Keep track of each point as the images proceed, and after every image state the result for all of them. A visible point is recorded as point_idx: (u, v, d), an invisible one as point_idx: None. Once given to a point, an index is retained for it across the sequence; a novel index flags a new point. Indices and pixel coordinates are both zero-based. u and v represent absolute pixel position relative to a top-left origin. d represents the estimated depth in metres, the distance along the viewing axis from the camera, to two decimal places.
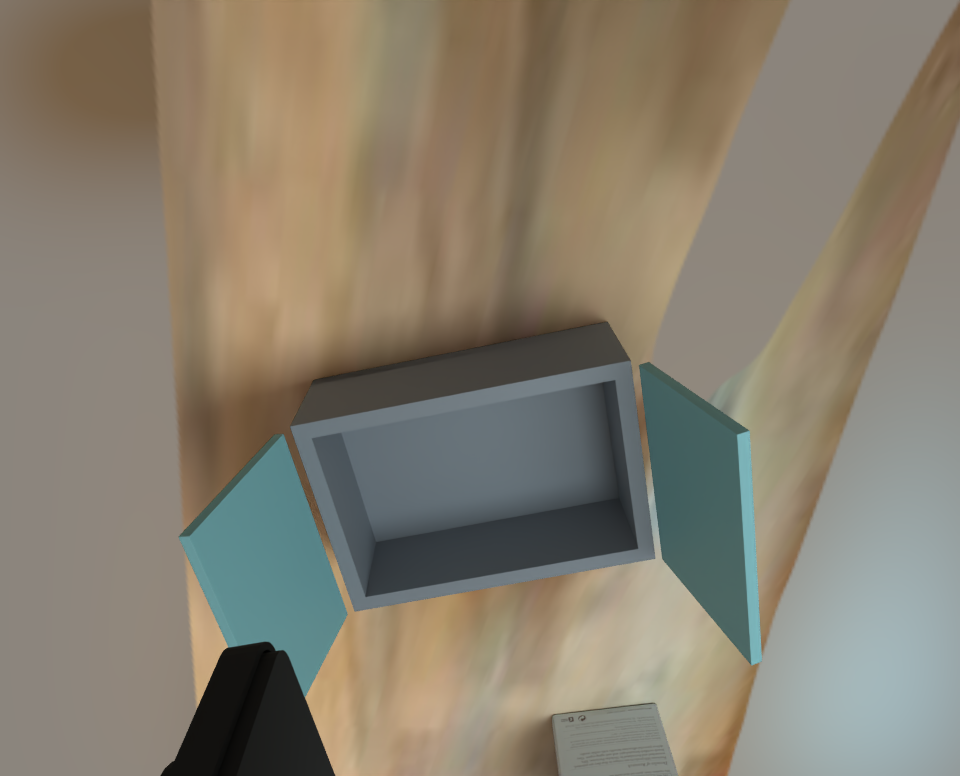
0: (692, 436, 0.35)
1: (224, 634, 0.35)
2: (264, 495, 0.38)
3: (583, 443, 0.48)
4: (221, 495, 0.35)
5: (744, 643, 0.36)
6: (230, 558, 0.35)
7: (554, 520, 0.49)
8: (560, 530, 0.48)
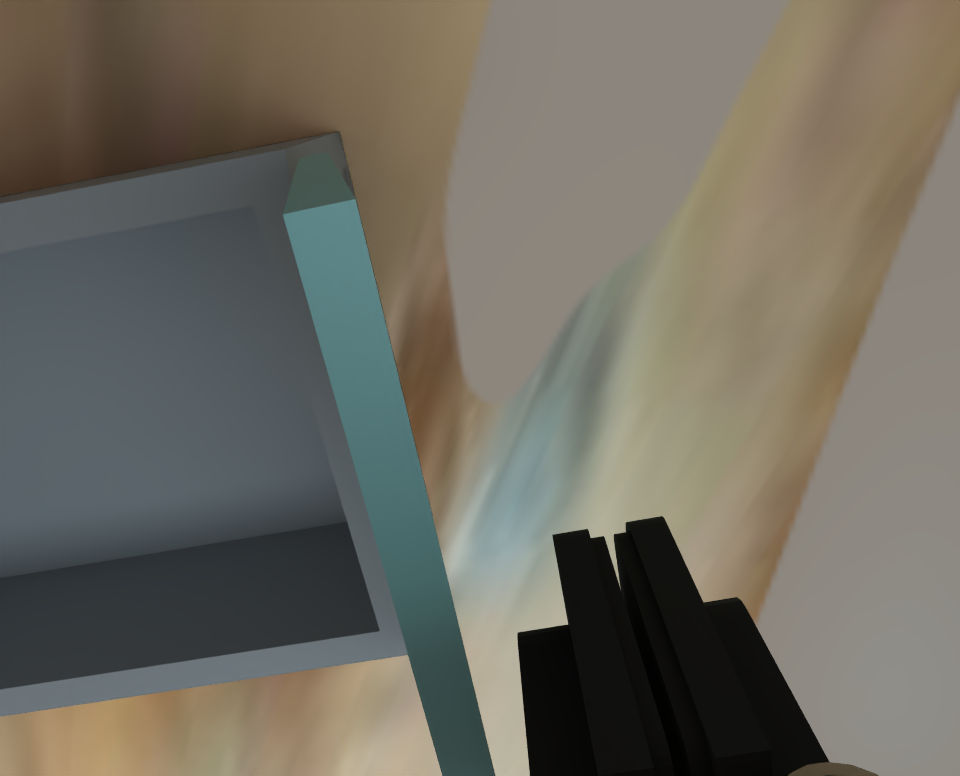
0: None
1: None
2: None
3: None
4: None
5: None
6: None
7: (258, 556, 0.24)
8: (255, 578, 0.23)
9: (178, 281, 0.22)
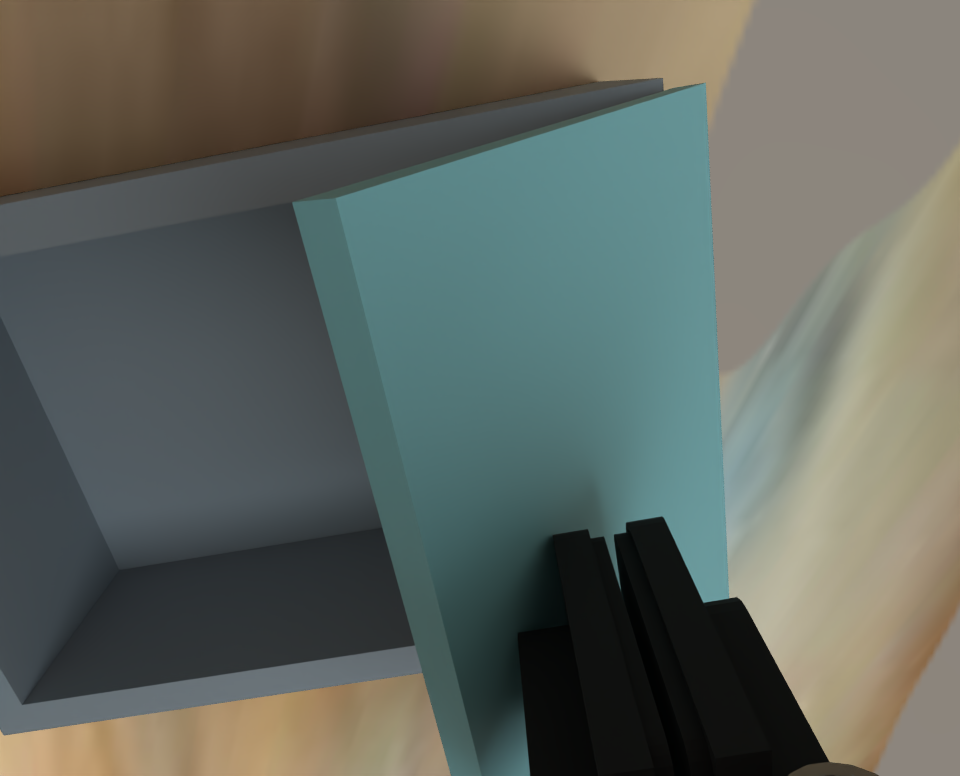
0: None
1: None
2: None
3: None
4: None
5: None
6: None
7: None
8: None
9: None
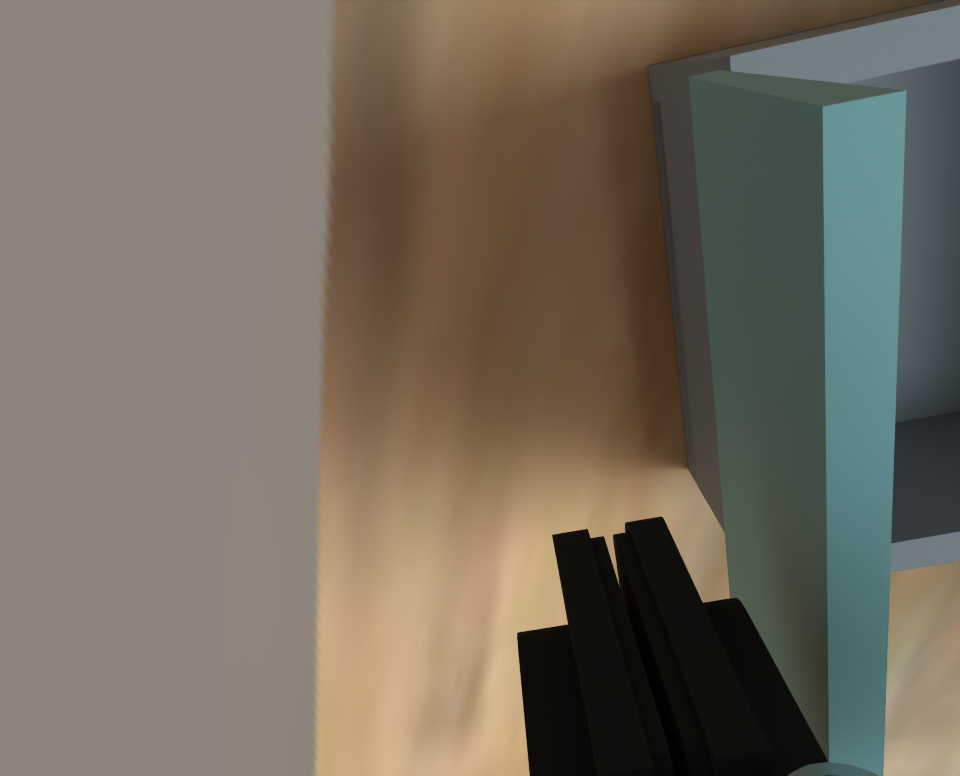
0: None
1: (837, 665, 0.08)
2: None
3: None
4: (766, 84, 0.09)
5: None
6: None
7: None
8: None
9: None
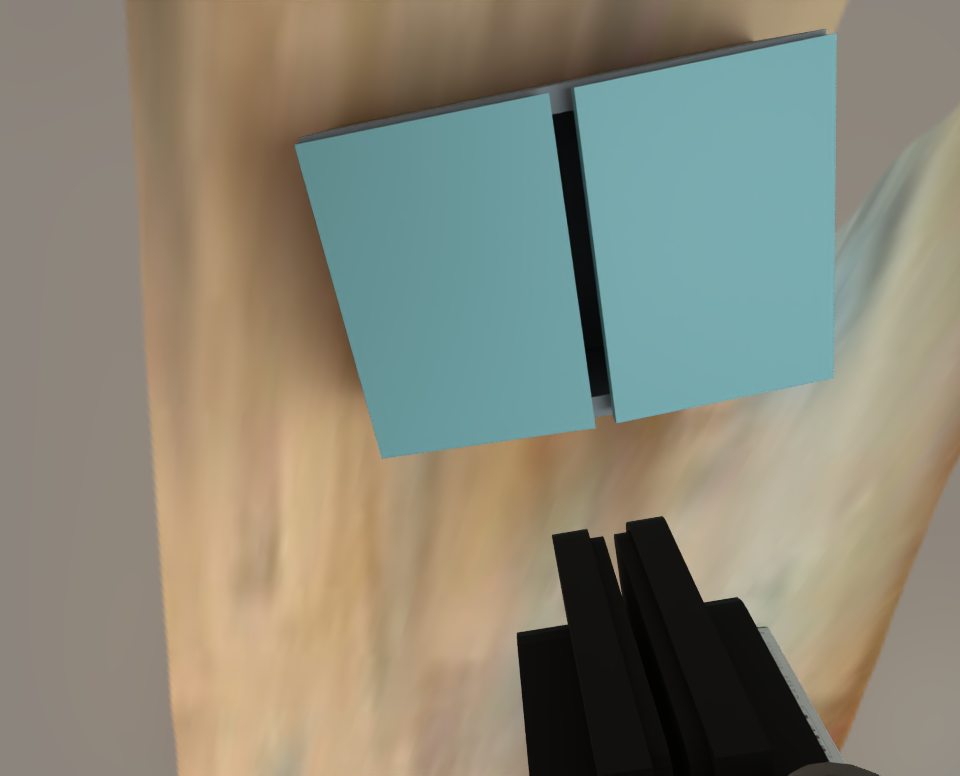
0: None
1: None
2: None
3: None
4: (456, 111, 0.26)
5: None
6: None
7: None
8: None
9: None
